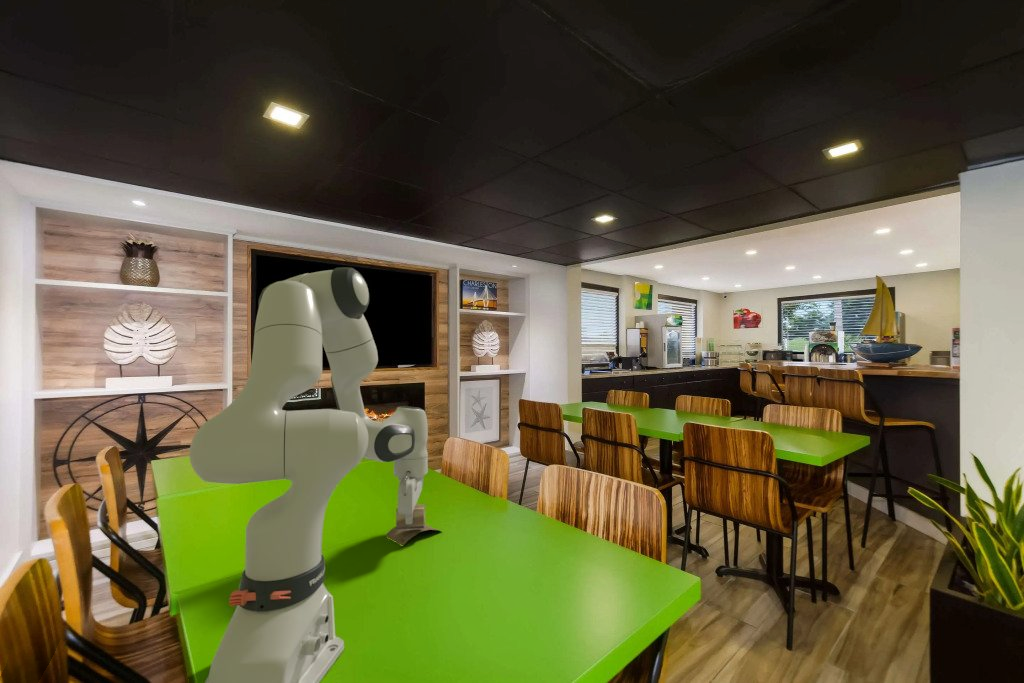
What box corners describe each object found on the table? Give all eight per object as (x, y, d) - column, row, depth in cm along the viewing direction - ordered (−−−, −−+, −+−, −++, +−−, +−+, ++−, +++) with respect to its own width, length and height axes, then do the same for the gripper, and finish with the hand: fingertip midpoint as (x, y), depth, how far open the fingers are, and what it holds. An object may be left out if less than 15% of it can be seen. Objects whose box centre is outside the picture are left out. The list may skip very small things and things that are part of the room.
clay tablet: (401, 550, 110) (401, 539, 110) (379, 539, 117) (379, 529, 117) (446, 533, 121) (446, 523, 121) (423, 524, 128) (423, 514, 128)
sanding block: (423, 528, 115) (423, 508, 115) (396, 529, 114) (396, 509, 114) (425, 523, 118) (425, 504, 118) (398, 524, 118) (398, 505, 118)
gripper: (417, 477, 107) (417, 535, 106) (427, 458, 127) (426, 506, 126) (391, 478, 106) (391, 536, 106) (404, 458, 126) (404, 507, 126)
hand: (410, 519), depth 116 cm, fingers closed on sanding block, 3 cm apart
